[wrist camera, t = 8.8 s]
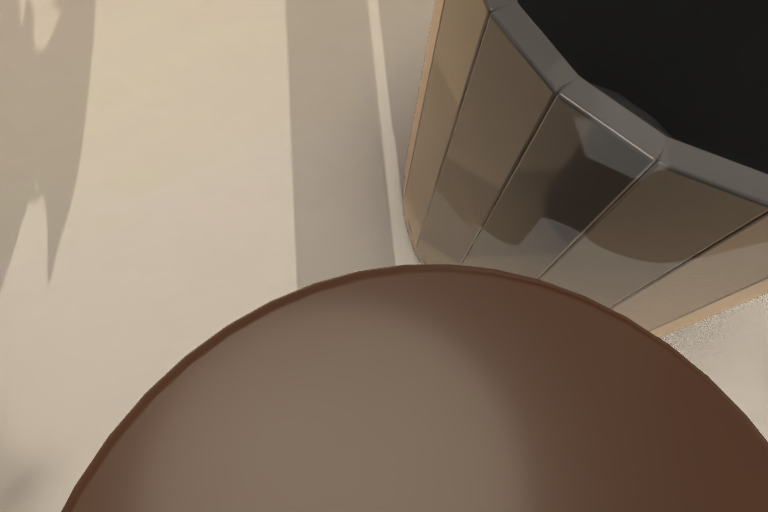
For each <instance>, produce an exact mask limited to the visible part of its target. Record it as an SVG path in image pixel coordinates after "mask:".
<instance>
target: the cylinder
mask: <svg viewBox="0 0 768 512" xmlns="http://www.w3.org/2000/svg"><path fill="white" fill-rule="evenodd" d="M61 512H768V442H767V441H766V439H765V438H764V437H763V436H762V434H761V433H760V432H759V431H758V429H757V428H756V427H755V426H754V424H753V423H752V422H751V421H750V419H749V418H748V417H747V416H746V415H745V414H744V412H743V411H742V410H741V409H740V408H739V407H738V406H737V405H736V404H735V403H734V402H733V401H732V400H731V399H730V398H729V397H728V396H727V395H726V394H725V393H724V392H723V391H722V390H721V389H720V388H719V387H718V386H717V385H716V384H715V383H714V382H713V381H712V380H711V379H710V378H709V377H708V376H707V375H706V374H704V373H703V372H702V371H701V370H699V369H698V368H697V367H696V366H695V365H693V364H692V363H691V362H690V361H688V360H687V359H686V358H685V357H684V356H682V355H681V354H680V353H679V352H678V351H676V350H675V349H674V348H673V347H671V346H670V345H669V344H667V343H666V342H664V341H663V340H661V339H660V338H658V337H657V336H655V335H654V334H652V333H651V332H649V331H648V330H646V329H645V328H643V327H641V326H640V325H638V324H637V323H635V322H634V321H632V320H631V319H629V318H628V317H626V316H624V315H622V314H620V313H618V312H616V311H614V310H612V309H610V308H608V307H606V306H604V305H602V304H600V303H598V302H596V301H594V300H592V299H590V298H588V297H586V296H584V295H581V294H578V293H575V292H573V291H570V290H567V289H564V288H562V287H559V286H556V285H553V284H551V283H548V282H545V281H542V280H539V279H535V278H531V277H527V276H522V275H518V274H514V273H510V272H505V271H501V270H497V269H491V268H481V267H472V266H463V265H454V264H420V265H399V266H392V267H385V268H378V269H371V270H364V271H358V272H354V273H350V274H347V275H343V276H339V277H336V278H332V279H328V280H325V281H321V282H317V283H314V284H311V285H309V286H306V287H304V288H302V289H299V290H297V291H294V292H292V293H289V294H287V295H285V296H282V297H280V298H277V299H275V300H272V301H270V302H268V303H266V304H265V305H263V306H261V307H259V308H258V309H256V310H254V311H252V312H250V313H249V314H247V315H245V316H243V317H241V318H240V319H238V320H236V321H234V322H233V323H231V324H229V325H227V326H226V327H224V328H223V329H222V330H220V331H219V332H218V333H216V334H215V335H213V336H212V337H211V338H209V339H208V340H207V341H205V342H204V343H203V344H201V345H200V346H198V347H197V348H196V349H194V350H193V351H192V352H190V353H189V354H188V355H186V356H185V357H184V358H183V359H182V360H181V361H180V362H178V363H177V364H176V365H175V366H174V367H173V368H172V369H171V370H170V371H169V372H168V373H167V374H166V375H164V376H163V377H162V378H161V379H160V380H159V381H158V382H157V383H156V384H155V385H154V386H153V387H152V388H150V389H149V390H148V391H147V392H146V393H145V394H144V396H143V397H142V398H141V399H140V400H139V401H138V403H137V404H136V405H135V406H134V407H133V408H132V410H131V411H130V412H129V413H128V414H127V415H126V417H125V418H124V419H123V420H122V421H121V422H120V424H119V425H118V426H117V427H116V428H115V429H114V431H113V432H112V433H111V434H110V435H109V436H108V438H107V439H106V441H105V442H104V444H103V445H102V447H101V448H100V450H99V451H98V453H97V454H96V456H95V457H94V459H93V460H92V462H91V463H90V464H89V466H88V467H87V469H86V470H85V472H84V473H83V475H82V476H81V478H80V479H79V481H78V482H77V484H76V485H75V487H74V489H73V491H72V492H71V494H70V496H69V498H68V500H67V502H66V504H65V506H64V508H63V509H62V511H61Z"/></svg>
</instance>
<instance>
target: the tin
mask: <svg viewBox="0 0 768 512" xmlns="http://www.w3.org/2000/svg"><path fill="white" fill-rule="evenodd" d="M403 207H404V216H405V221H406V226H407V231H408V234H409V237H410V240H411V243H412V246H413V249H414V251H415V253H416V255H417V257H418V259H419V261H420V263H421V264H454V265H463V266H472V267H481V268H491V269H497V270H501V271H505V272H510V273H514V274H518V275H522V276H527V277H531V278H535V279H539V280H542V281H545V282H548V283H551V284H553V285H556V286H559V287H562V288H564V289H567V290H570V291H573V292H575V293H578V294H581V295H584V296H586V297H588V298H590V299H592V300H594V301H596V302H598V303H600V304H602V305H604V306H606V307H608V308H610V309H612V310H614V311H616V312H618V313H620V314H622V315H624V316H626V317H628V318H629V319H631V320H632V321H634V322H635V323H637V324H638V325H640V326H641V327H643V328H645V329H646V330H648V331H649V332H651V333H652V334H654V335H655V336H657V337H658V338H660V337H662V336H665V335H667V334H670V333H672V332H674V331H677V330H679V329H682V328H684V327H686V326H689V325H691V324H694V323H696V322H699V321H701V320H703V319H706V318H708V317H711V316H713V315H715V314H718V313H720V312H723V311H725V310H728V309H730V308H732V307H735V306H737V305H740V304H742V303H744V302H747V301H749V300H752V299H754V298H757V297H759V296H761V295H764V294H766V293H768V0H436V1H435V6H434V11H433V17H432V22H431V27H430V33H429V38H428V44H427V49H426V54H425V60H424V65H423V71H422V76H421V81H420V87H419V92H418V98H417V103H416V108H415V114H414V119H413V125H412V130H411V135H410V141H409V146H408V151H407V157H406V169H405V176H404V186H403Z"/></svg>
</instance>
